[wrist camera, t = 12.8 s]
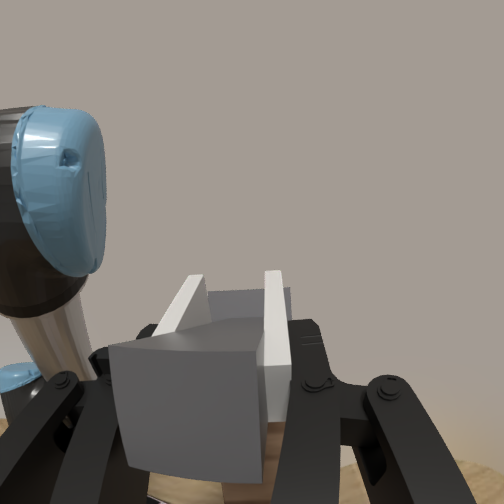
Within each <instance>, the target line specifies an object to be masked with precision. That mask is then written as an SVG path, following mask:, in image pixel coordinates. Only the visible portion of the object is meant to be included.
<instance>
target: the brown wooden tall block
mask: <svg viewBox="0 0 504 504" xmlns="http://www.w3.org/2000/svg"><path fill="white" fill-rule="evenodd" d="M285 423H286V421H284V422H268V428H267V440H266V451H265V462H264V473H263V483H262V484H247V483H225V482H221V483H222V490H223V497H224V503H225V504H270V502H271V498H272V493H273V488H274V484H275V479H276V474H277V468H278V463H279V458H280V452H281V447H282V441H283V435H284V429H285Z"/></svg>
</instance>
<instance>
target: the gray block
mask: <svg viewBox="0 0 504 504" xmlns="http://www.w3.org/2000/svg"><path fill="white" fill-rule="evenodd" d="M283 292H284V300H285V309H286V317H287V321H289V320H292V315H291V296H290V287H287V288H283ZM264 300H265V289H255V290H254V289H253V290H235V291H234V290H233V291H209V292H208V303H209V309H210V314H211V320H212V322H211V323H208V324H204V325H200V326H196V327H192V328H188V329H184V330H180V331H175V332H170V333H166V334H161V335H157V336H152V337H147V338H143V339H138V340H133V341H129V342H123V343H118V344H112V345H108V350H109V361H110V371H111V379H112V387H113V394H114V400H115V406H116V412H117V418H118V423H119V428H120V433H121V437H122V442H123V446H124V450H125V454H126V458H127V462H128V465H129V466H130V467H133V468H137V469H141V470H145V471H150V472H154V473H159V474H164V475H169V476H175V477H181V478H187V479H195V480H203V481H213V482H225V483H247V484H262V483H263V473H264V462H265V451H266V440H267V428H268V410H267V398H266V385H265V373H264V339H265V330H264Z"/></svg>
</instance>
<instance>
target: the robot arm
mask: <svg viewBox="0 0 504 504" xmlns="http://www.w3.org/2000/svg"><path fill="white" fill-rule="evenodd" d="M105 205H106V165H105V152H104V144H103V139H102V135H101V131H100V128H99V126H98V124H97V122H96V121H95V119H94V118H93V117H92V116H91V115H90V114H88V113H87V112H84V111H82V110H77V109H61V108H50V107H46V106H44V105H40V106H31V107H19V108H11V109H3V110H0V315H2V316H4V317H6V318H10V320H11V322H12V324H13V326H14V328H15V330H16V332H17V334H18V336H19V337H20V339H21V341H22V343H23V345H24V347H25V348H26V350H27V352H28V353H29V355H30V357H31V358H32V360H33V362H28V363H27V362H26V363H17V364H11V365H7V366H4V367H2V368H1V369H0V395H1V399H2V404H3V407H4V411H5V415H6V418H7V422H8V425H9V427H8V428H7V429H6V431H5V432H4V433H3V434H2V436H1V437H0V504H146V500H147V491H148V483H149V475H150V471H145V470H141V469H137V468H133V467H130V466H129V465H128V462H127V458H126V454H125V450H124V446H123V442H122V437H121V433H120V428H119V423H118V418H117V412H116V406H115V400H114V394H113V387H112V379H111V371H110V361H109V350H108V347H103V348H101V349H98V350H96V351H95V352H92V348H91V345H90V341H89V337H88V333H87V329H86V324H85V320H84V316H83V311H82V306H81V301H80V295H79V293H80V292H81V290H82V289H83V287H84V286H85V283H86V281H87V279H88V276H89V274H92V273H94V272H95V271H97V269H98V268H99V267H100V265H101V263H102V260H103V255H104V249H105V237H106V208H105ZM211 322H212V320H211V314H210V309H209V303H208V297H207V292H206V285H205V280H204V275H203V274H202V275H189V276H188V278H187V279H186V281H185V283H184V284H183V286H182V287H181V289H180V290H179V292H178V294H177V295H176V297H175V298H174V300H173V302H172V303H171V305H170V306H169V308H168V310H167V311H166V313H165V315H164V316H163V318H162V320H161V321H160V323H159V324H149V325H148V326H146V327H145V328H144V329H142V330H141V331H140V333H139V334H138V336H137V337H136V340H138V339H143V338H147V337H152V336H157V335H161V334H166V333H170V332H175V331H180V330H184V329H188V328H192V327H196V326H200V325H204V324H208V323H211ZM264 330H265V339H264V373H265V385H266V398H267V410H268V422H284V421H286V423H285V429H284V435H283V441H282V447H281V452H280V458H279V463H278V468H277V474H276V479H275V484H274V488H273V493H272V498H271V502H270V504H338V503H339V485H340V445H346V446H352V449H353V452H354V454H355V458H356V460H357V464H358V467H359V470H360V473H361V476H362V479H363V482H364V485H365V488H366V491H367V494H368V497H369V501H370V504H477V503H476V501H475V499H474V497H473V495H472V493H471V491H470V489H469V487H468V485H467V483H466V481H465V479H464V477H463V475H462V473H461V471H460V469H459V468H458V466H457V464H456V462H455V460H454V458H453V457H452V455H451V453H450V451H449V450H448V448H447V446H446V444H445V443H444V441H443V439H442V437H441V435H440V434H439V432H438V430H437V429H436V427H435V425H434V424H433V422H432V421H431V419H430V417H429V415H428V414H427V412H426V410H425V409H424V408H423V406H422V404H421V402H420V401H419V399H418V398H417V396H416V394H415V393H414V391H413V390H412V388H411V387H410V385H409V384H408V383H407V382H406V381H405V380H404V379H402V378H400V377H398V376H394V375H382V376H379V377H376V378H374V379H373V380H372V381H371V382H370V383H369V384H368V386H361V385H352V384H347V383H344V382H342V381H340V380H338V379H337V377H335V376H334V375H333V374H332V372H331V370H330V366H329V362H328V358H327V355H326V351H325V347H324V344H323V340H322V336H321V333H320V329H319V326H318V325H317V324H316V323H315V322H314V321H313V320H312V319H303V320H289V321H287V317H286V309H285V300H284V292H283V283H282V275H281V270H276V271H265V300H264Z"/></svg>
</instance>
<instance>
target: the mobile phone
mask: <svg viewBox="0 0 504 504" xmlns="http://www.w3.org/2000/svg"><path fill="white" fill-rule="evenodd" d="M146 504H166V503H164V502H163V501H160V500H158V499H155V498H153V497H151V496H148V495H147V500H146Z"/></svg>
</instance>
